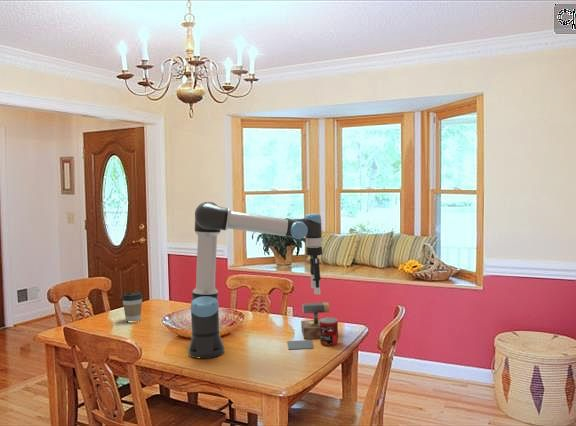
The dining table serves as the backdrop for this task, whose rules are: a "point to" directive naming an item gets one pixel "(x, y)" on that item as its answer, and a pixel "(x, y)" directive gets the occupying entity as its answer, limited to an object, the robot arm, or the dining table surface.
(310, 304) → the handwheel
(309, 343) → the rubber mat
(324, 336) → the canned food
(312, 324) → the walnut block
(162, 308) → the dining table surface
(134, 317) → the coffee cup
